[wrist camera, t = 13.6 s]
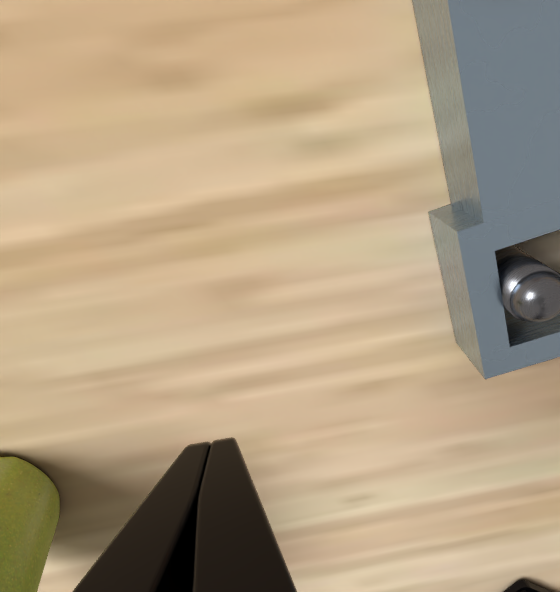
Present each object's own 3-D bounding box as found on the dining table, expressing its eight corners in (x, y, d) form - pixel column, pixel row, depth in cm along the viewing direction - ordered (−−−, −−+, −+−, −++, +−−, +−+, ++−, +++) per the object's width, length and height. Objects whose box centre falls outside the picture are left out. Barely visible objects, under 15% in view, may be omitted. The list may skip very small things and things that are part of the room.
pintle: (528, 256, 18) (595, 296, 15) (494, 295, 19) (550, 343, 15) (491, 231, 18) (552, 267, 14) (458, 272, 19) (508, 316, 15)
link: (598, 298, 19) (650, 329, 17) (456, 342, 20) (484, 378, 17) (572, -144, 13) (646, -200, 11) (370, -61, 14) (394, -95, 11)
